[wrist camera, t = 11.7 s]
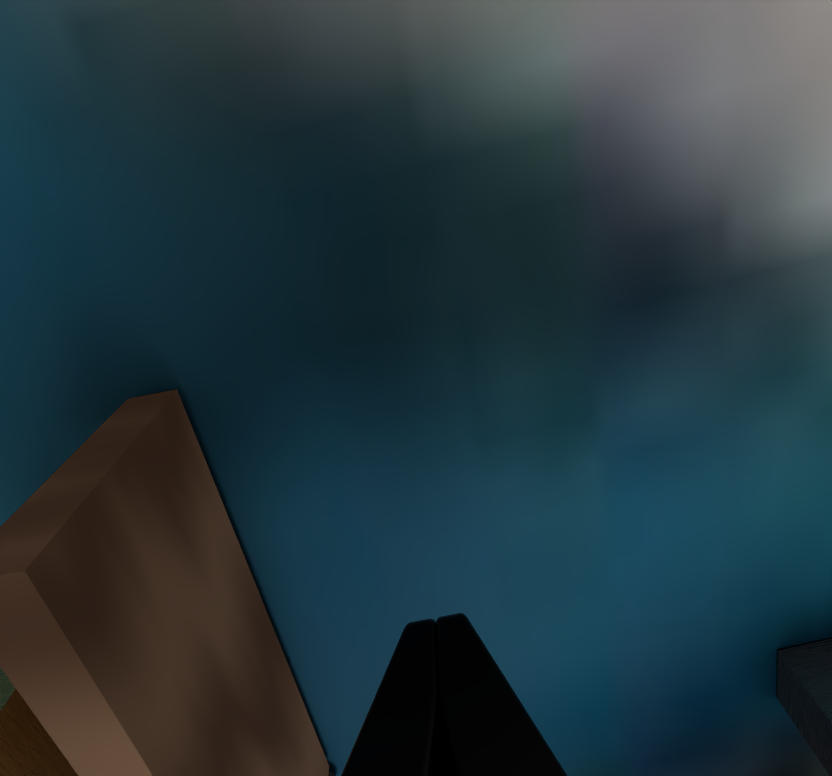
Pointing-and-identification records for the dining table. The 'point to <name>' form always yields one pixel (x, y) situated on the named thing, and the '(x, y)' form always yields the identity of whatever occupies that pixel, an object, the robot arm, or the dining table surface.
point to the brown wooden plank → (146, 614)
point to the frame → (796, 691)
